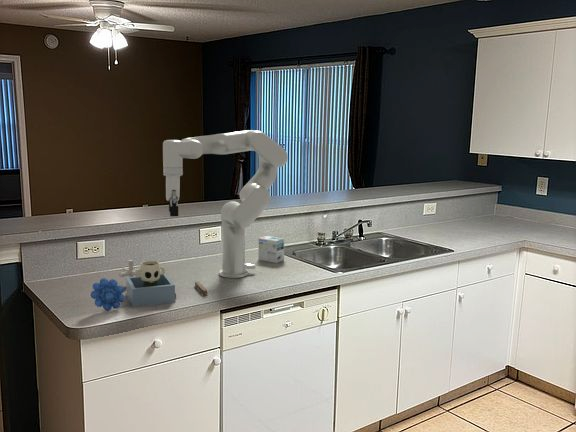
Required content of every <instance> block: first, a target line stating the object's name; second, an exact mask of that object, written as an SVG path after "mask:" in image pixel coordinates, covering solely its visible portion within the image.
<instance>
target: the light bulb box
mask: <svg viewBox="0 0 576 432" xmlns="http://www.w3.org/2000/svg"><path fill="white" fill-rule="evenodd" d="M257 256H258V260H257V261H263V262H269V263H273V264H274V263H275V264H278V263H281V262H283V261H285V238H282V237H277V236H276V237H275V236H271V235H270V236H269V235H265V236H261V237H258V255H257Z"/></svg>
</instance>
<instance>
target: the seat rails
mask: <svg viewBox="0 0 576 432" xmlns="http://www.w3.org/2000/svg"><path fill="white" fill-rule="evenodd" d="M194 287H195V288H196V289H197V290H198V291H199V293H200V294H201V295H202V296H203V297H205V296H208V289H207V288H206V287H205V286H204V285H203V284H202V283H201V282H200V281H197V280H196V281H194ZM176 299H177V292H175V300H176Z"/></svg>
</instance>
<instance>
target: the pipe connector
mask: <svg viewBox="0 0 576 432" xmlns="http://www.w3.org/2000/svg"><path fill="white" fill-rule="evenodd" d="M136 269H140V267H138V268H135V269H134V260H133V259H128V268H127V267H123V268H122V269H121V271H122V272H119V274H118V276H119V277H120V278H124V277H125V278H126V277H136V274H135V271H136ZM138 275H141V272H140V271H138Z"/></svg>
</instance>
